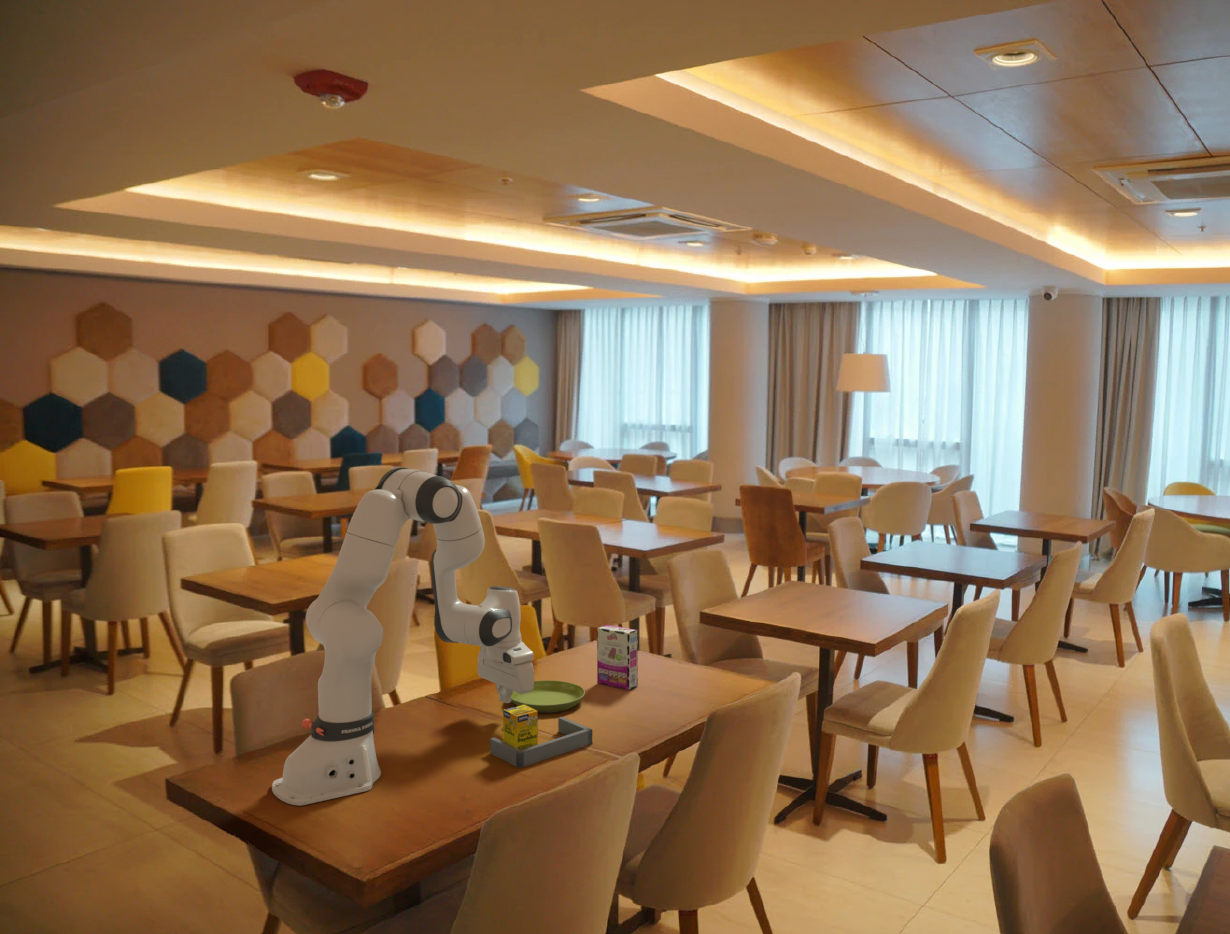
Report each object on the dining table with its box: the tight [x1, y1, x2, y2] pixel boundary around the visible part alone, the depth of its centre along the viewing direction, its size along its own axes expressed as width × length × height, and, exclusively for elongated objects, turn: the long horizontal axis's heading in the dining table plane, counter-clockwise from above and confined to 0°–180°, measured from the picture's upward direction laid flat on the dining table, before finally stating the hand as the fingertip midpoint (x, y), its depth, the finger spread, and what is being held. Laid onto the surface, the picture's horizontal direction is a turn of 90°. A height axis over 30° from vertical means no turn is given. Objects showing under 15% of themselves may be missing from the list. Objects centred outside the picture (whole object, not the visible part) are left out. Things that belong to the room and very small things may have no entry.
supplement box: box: [502, 705, 539, 750], centre depth 215 cm, size 6×6×11 cm
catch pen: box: [489, 716, 593, 769], centre depth 220 cm, size 21×11×4 cm, turn 132°
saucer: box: [511, 679, 586, 714], centre depth 252 cm, size 21×21×3 cm
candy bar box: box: [596, 624, 639, 691], centre depth 266 cm, size 11×5×16 cm, turn 55°
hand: (505, 701), depth 239 cm, fingers closed
